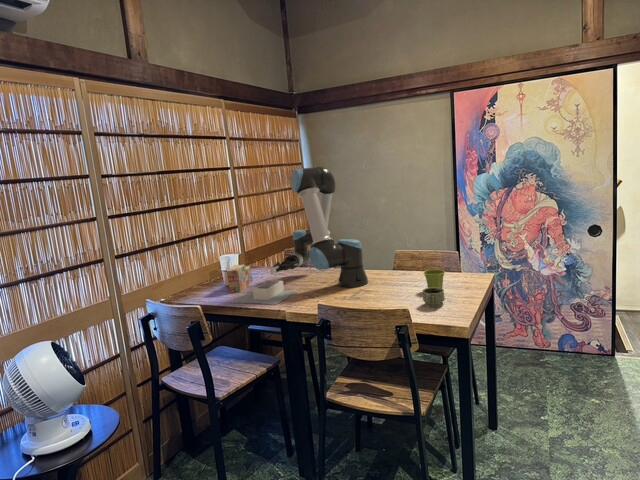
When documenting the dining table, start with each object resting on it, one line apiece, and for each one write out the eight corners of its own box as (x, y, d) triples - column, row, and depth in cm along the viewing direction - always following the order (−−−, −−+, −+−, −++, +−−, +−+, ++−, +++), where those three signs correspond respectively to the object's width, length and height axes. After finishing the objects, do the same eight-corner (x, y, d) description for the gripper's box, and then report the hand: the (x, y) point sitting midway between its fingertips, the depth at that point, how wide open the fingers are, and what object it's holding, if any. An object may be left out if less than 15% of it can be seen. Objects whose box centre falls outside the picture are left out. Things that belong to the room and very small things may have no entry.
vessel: (423, 300, 184) (422, 286, 184) (445, 300, 182) (444, 285, 181) (422, 309, 173) (421, 294, 172) (445, 309, 171) (444, 294, 170)
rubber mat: (296, 292, 217) (296, 291, 217) (276, 304, 199) (276, 303, 199) (256, 290, 227) (256, 289, 227) (234, 302, 209) (234, 301, 209)
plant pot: (434, 294, 190) (433, 275, 189) (420, 290, 199) (419, 272, 197) (450, 290, 195) (449, 271, 193) (435, 286, 203) (434, 268, 201)
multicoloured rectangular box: (242, 282, 250) (239, 261, 248) (252, 281, 249) (250, 260, 247) (229, 292, 229) (226, 270, 227) (240, 292, 228) (237, 269, 226)
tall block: (282, 280, 220) (266, 289, 206) (284, 290, 221) (267, 299, 207) (269, 280, 224) (252, 288, 210) (270, 289, 225) (253, 299, 210)
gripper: (304, 267, 237) (283, 279, 216) (284, 267, 243) (261, 278, 222) (303, 254, 236) (282, 264, 215) (282, 254, 242) (260, 264, 221)
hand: (271, 271), depth 218 cm, fingers closed
